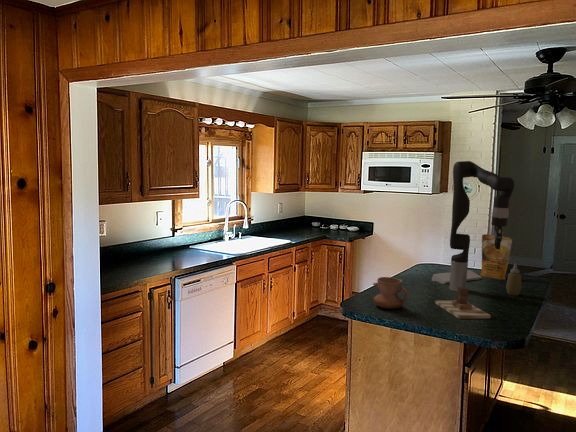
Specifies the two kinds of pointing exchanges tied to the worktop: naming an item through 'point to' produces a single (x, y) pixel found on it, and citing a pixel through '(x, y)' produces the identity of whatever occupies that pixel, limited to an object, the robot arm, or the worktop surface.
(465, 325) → the worktop surface
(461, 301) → the block
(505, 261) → the pancake mix bag
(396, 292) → the ceramic jug
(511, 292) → the squeeze bottle
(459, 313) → the birch board
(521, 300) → the worktop surface
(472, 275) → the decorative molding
